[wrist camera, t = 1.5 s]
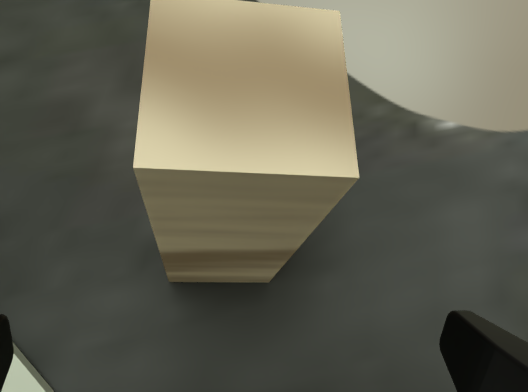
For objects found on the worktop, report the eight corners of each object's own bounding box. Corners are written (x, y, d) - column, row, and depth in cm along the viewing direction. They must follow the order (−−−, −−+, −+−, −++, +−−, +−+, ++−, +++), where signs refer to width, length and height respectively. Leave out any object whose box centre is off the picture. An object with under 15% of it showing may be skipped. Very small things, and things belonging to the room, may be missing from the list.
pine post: (268, 282, 21) (358, 177, 10) (169, 281, 21) (133, 167, 9) (266, 192, 23) (339, 11, 11) (174, 188, 23) (151, -9, 11)
